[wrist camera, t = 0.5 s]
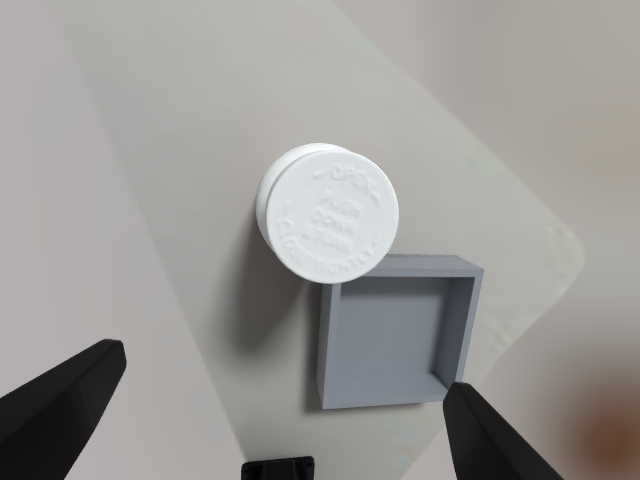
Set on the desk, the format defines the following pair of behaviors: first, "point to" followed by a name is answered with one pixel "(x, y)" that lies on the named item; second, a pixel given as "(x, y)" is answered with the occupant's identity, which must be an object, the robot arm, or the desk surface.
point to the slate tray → (397, 331)
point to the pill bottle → (327, 212)
